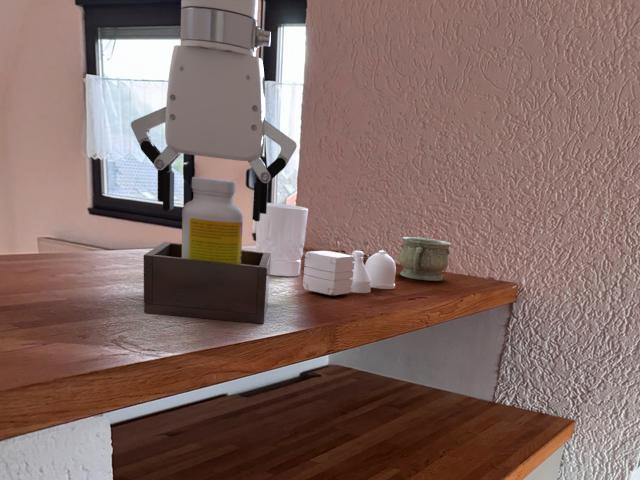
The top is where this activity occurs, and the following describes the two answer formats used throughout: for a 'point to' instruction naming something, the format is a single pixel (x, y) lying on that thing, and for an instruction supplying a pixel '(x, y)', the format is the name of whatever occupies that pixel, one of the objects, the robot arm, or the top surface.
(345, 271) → the container set
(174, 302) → the box
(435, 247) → the vessel
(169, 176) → the robot arm
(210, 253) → the supplement bottle
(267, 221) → the white cup
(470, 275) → the top surface
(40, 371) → the top surface
